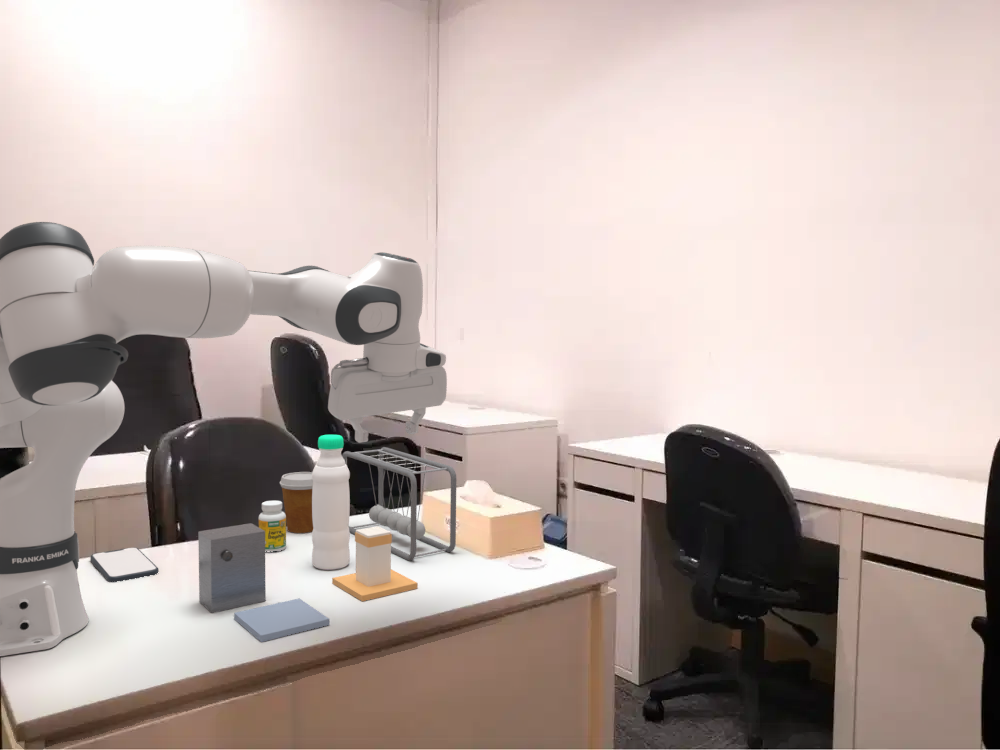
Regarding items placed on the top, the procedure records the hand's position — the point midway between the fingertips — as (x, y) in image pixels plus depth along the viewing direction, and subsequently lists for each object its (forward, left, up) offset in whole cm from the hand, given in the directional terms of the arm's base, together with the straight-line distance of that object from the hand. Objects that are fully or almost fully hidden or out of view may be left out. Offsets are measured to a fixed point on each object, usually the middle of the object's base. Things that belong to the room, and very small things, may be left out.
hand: (387, 436), depth 134 cm
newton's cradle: (+21, +31, -29) cm, 47 cm away
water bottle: (+2, +24, -29) cm, 38 cm away
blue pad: (-17, +3, -28) cm, 33 cm away
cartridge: (+3, +9, -27) cm, 29 cm away
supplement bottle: (-3, +40, -29) cm, 50 cm away
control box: (-20, +16, -28) cm, 38 cm away
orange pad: (+3, +9, -28) cm, 30 cm away
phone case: (-30, +46, -29) cm, 62 cm away
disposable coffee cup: (+8, +50, -29) cm, 58 cm away
